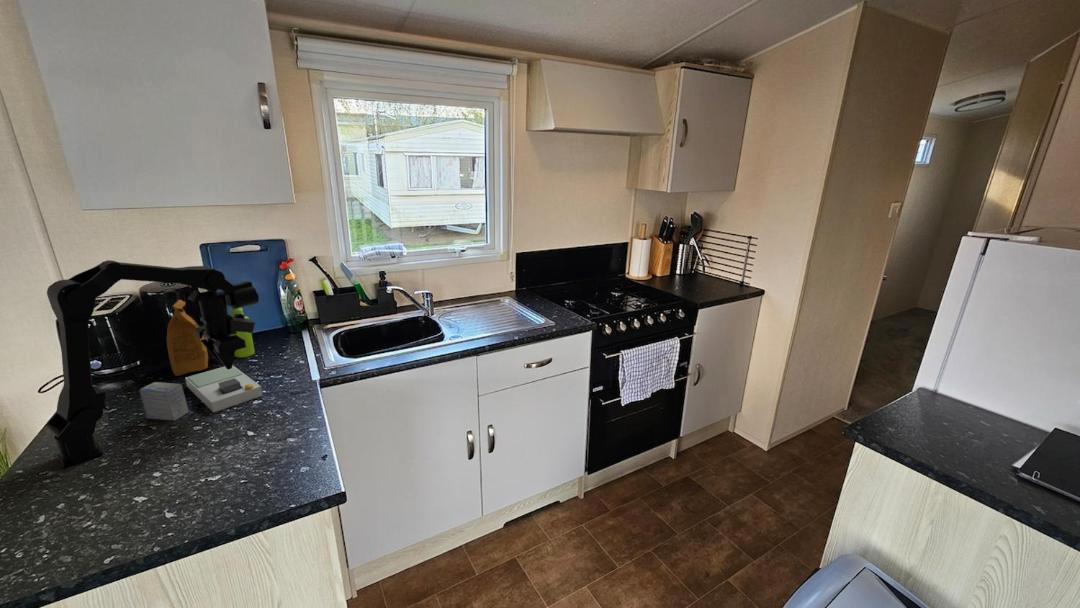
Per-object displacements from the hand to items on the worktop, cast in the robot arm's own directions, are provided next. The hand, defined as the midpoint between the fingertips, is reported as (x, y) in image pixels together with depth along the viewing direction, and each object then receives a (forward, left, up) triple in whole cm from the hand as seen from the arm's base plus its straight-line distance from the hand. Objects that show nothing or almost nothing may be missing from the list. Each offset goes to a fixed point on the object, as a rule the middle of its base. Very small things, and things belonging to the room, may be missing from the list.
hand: (225, 365), depth 121 cm
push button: (0, 0, -8) cm, 8 cm away
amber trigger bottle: (+31, +1, -10) cm, 33 cm away
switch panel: (+6, 0, -10) cm, 12 cm away
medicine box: (+2, +14, -10) cm, 17 cm away
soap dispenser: (+31, -14, -10) cm, 35 cm away
